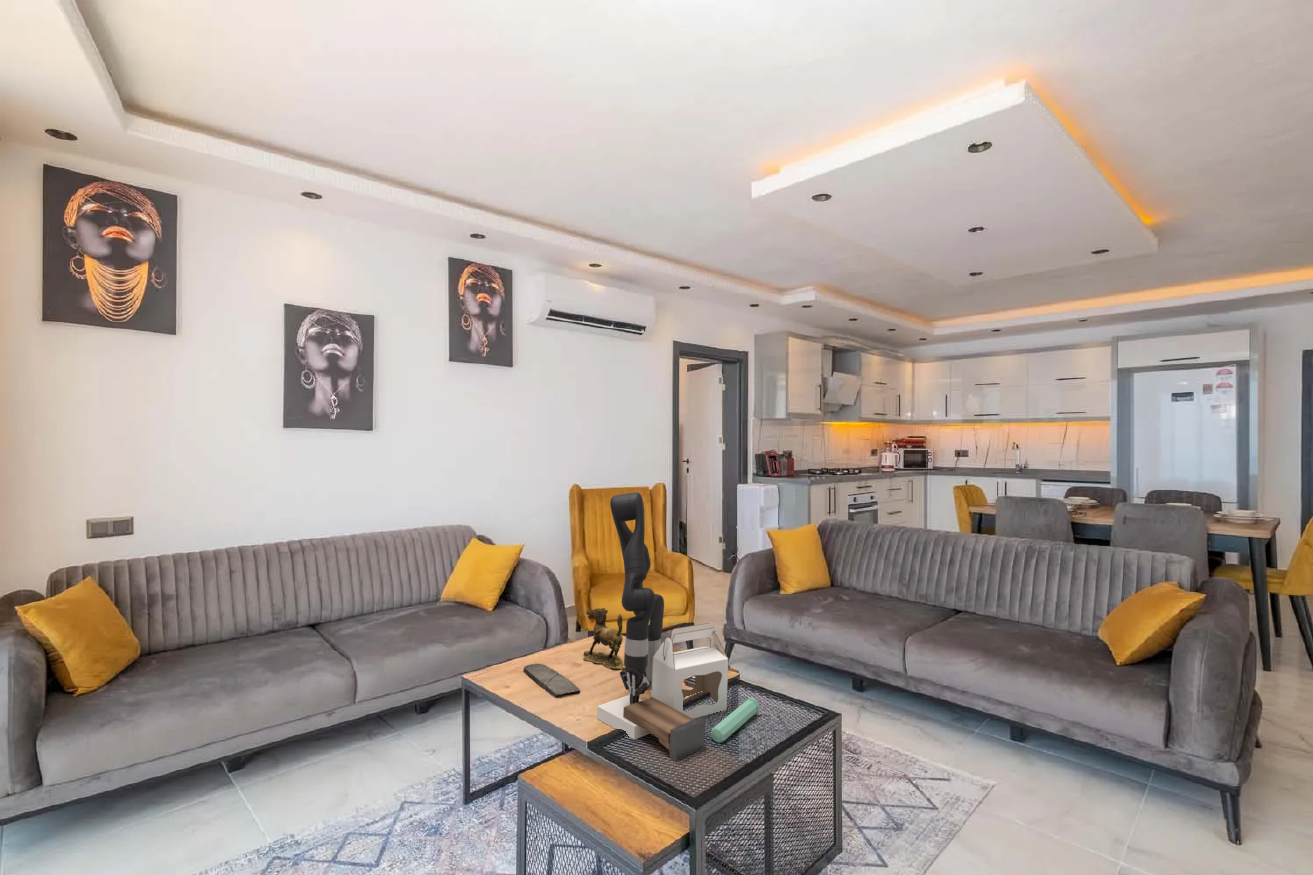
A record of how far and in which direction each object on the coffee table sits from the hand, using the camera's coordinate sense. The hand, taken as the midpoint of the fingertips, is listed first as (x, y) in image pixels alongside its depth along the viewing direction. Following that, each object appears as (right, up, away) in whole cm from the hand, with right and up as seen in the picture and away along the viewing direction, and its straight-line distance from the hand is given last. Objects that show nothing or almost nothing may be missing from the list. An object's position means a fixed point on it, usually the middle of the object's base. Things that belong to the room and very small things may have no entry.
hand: (634, 705), depth 198 cm
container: (+32, -7, -1) cm, 32 cm away
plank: (+8, -2, -8) cm, 12 cm away
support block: (+11, -6, -12) cm, 18 cm away
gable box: (+18, -6, +11) cm, 22 cm away
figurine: (-13, -5, +52) cm, 54 cm away
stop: (+16, -6, -17) cm, 24 cm away
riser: (-1, -6, 0) cm, 6 cm away
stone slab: (-32, -5, +31) cm, 44 cm away
